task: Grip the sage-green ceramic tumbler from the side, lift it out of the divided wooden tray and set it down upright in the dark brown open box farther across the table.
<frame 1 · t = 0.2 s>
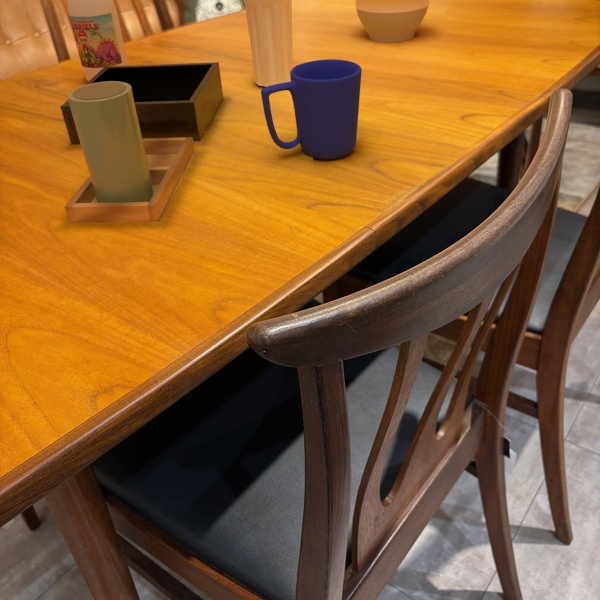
bowl: (391, 37, 119), on the table
cup: (274, 84, 100), on the table
divided wooden tray: (138, 186, 71), on the table
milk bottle: (108, 79, 107), on the table
mug: (314, 156, 76), on the table
tumbler: (126, 200, 67), resting on divided wooden tray
dark brown open box: (153, 121, 88), on the table
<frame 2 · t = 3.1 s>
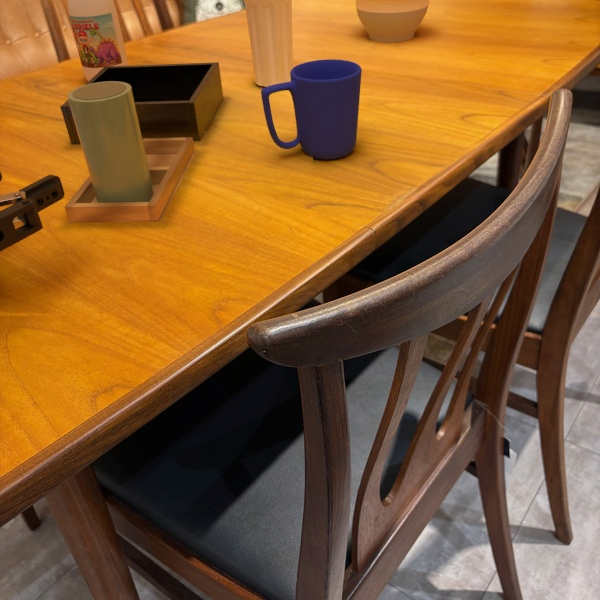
hand: (27, 176, 56), 8 cm above the table, tool horizontal, fingers open, 8 cm apart
nothing on the table moved.
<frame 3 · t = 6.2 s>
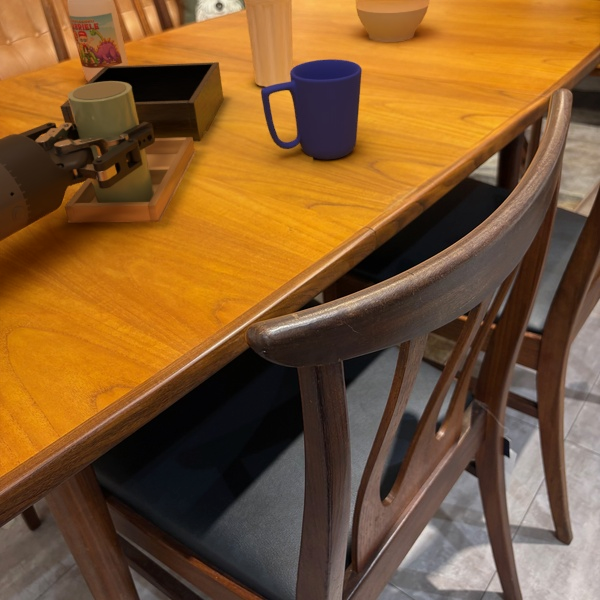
hand: (126, 126, 65), 8 cm above the table, tool horizontal, fingers closed on tumbler, 6 cm apart
tumbler: (126, 200, 67), point 1 cm above the table, touching gripper, divided wooden tray
everything else where it was.
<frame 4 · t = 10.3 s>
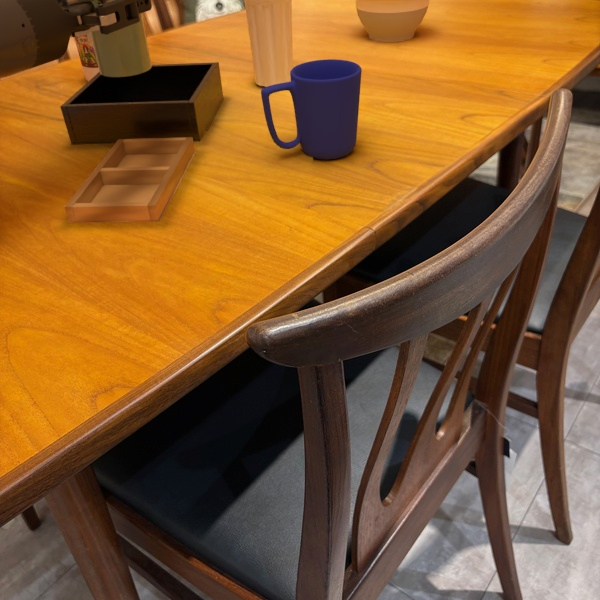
tumbler: (126, 69, 74), point 10 cm above the table, touching gripper
everything else where it was.
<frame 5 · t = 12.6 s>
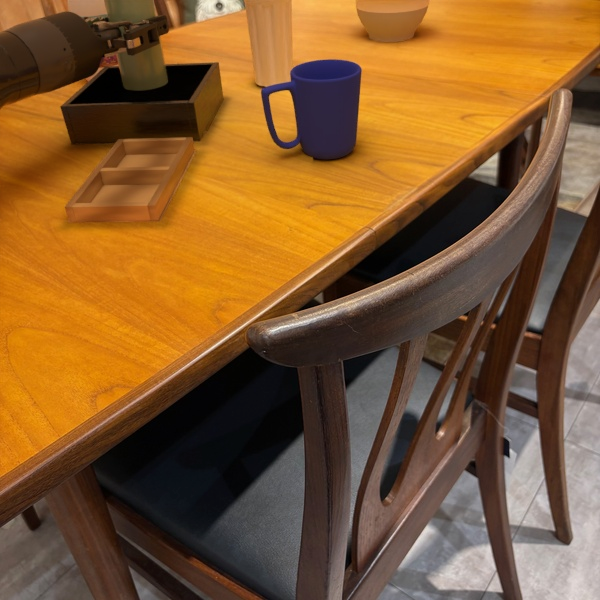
hand: (146, 22, 82), 13 cm above the table, tool horizontal, fingers closed on tumbler, 6 cm apart
tumbler: (146, 83, 85), point 5 cm above the table, touching gripper
everything else where it was.
when the fingers open (8 cm above the table, at t = 14.5 s): tumbler stays where it is, resting on dark brown open box.
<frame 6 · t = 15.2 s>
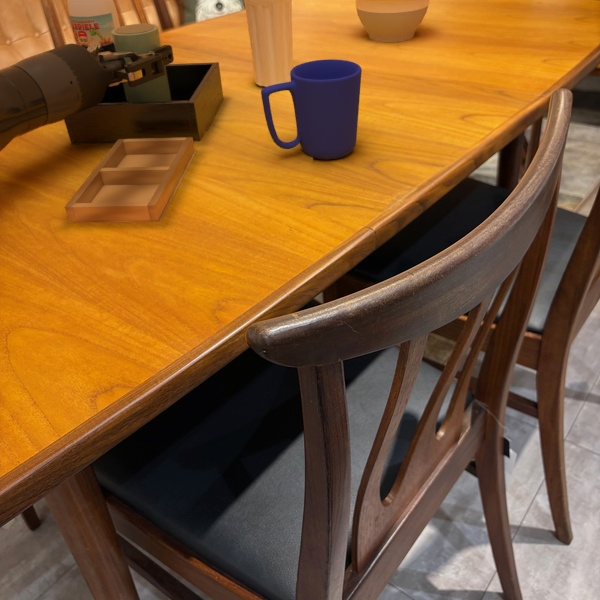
hand: (146, 49, 84), 10 cm above the table, tool horizontal, fingers open, 8 cm apart
tumbler: (152, 118, 88), point 1 cm above the table, touching dark brown open box
everything else where it was.
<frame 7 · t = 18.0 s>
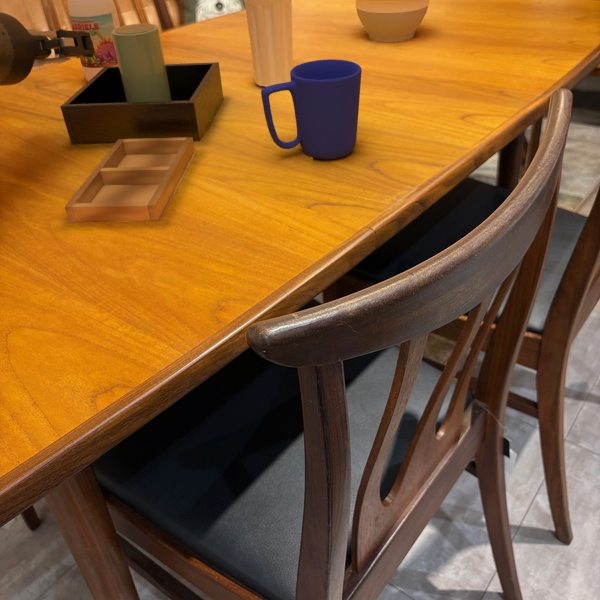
hand: (59, 52, 79), 11 cm above the table, tool tilted 75°, fingers open, 8 cm apart
nothing on the table moved.
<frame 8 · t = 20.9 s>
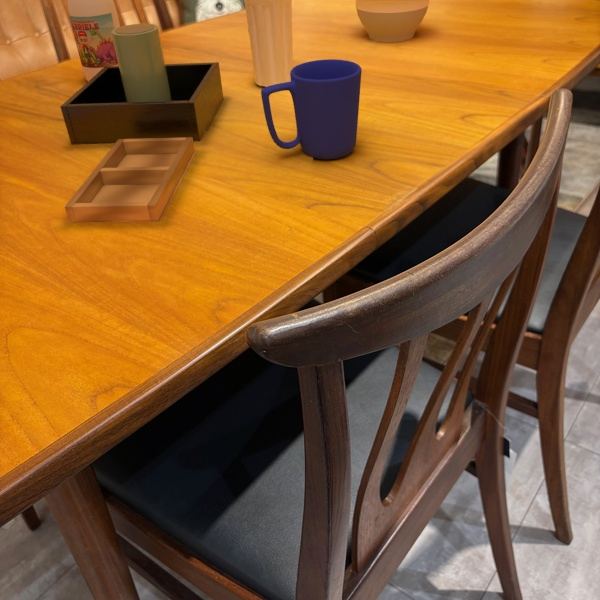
nothing on the table moved.
at the end: tumbler inside the target area in the dark brown open box (0.1 cm from its centre), point 0.6 cm above the dark brown open box's base; tumbler tilted 0°; the gripper is holding nothing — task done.
